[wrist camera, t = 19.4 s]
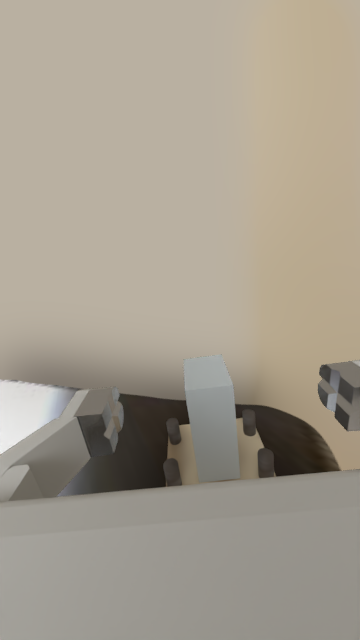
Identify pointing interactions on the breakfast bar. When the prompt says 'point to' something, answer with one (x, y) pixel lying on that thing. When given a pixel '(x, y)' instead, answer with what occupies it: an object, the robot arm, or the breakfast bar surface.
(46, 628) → the robot arm
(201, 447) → the block
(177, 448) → the birch pin plate
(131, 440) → the breakfast bar surface
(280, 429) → the breakfast bar surface
